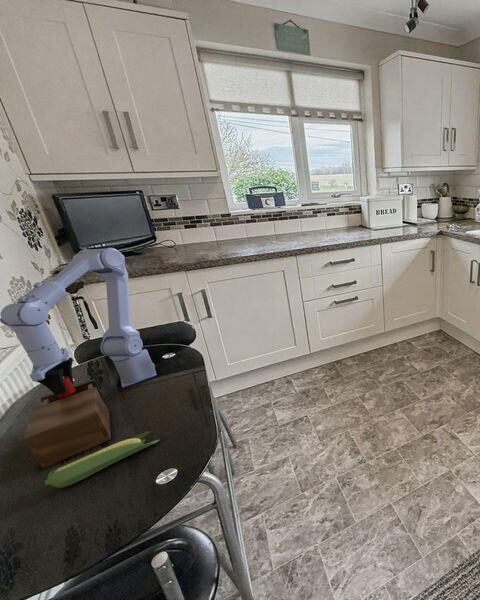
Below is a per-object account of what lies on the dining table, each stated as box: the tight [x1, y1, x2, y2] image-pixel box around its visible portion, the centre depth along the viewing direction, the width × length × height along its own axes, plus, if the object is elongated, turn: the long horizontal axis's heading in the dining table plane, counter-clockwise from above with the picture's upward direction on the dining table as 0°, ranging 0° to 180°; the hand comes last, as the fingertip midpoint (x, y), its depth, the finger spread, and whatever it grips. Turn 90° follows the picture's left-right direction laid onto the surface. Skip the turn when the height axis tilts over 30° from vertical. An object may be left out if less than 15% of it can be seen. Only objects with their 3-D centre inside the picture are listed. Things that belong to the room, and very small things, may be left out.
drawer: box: [40, 378, 106, 406], centre depth 92 cm, size 18×11×7 cm, turn 42°
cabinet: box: [23, 387, 112, 469], centre depth 84 cm, size 15×13×9 cm
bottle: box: [57, 376, 76, 397], centre depth 89 cm, size 4×4×6 cm
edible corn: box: [44, 430, 160, 489], centre depth 76 cm, size 5×20×5 cm, turn 130°
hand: (64, 389), depth 90 cm, fingers closed on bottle, 3 cm apart
